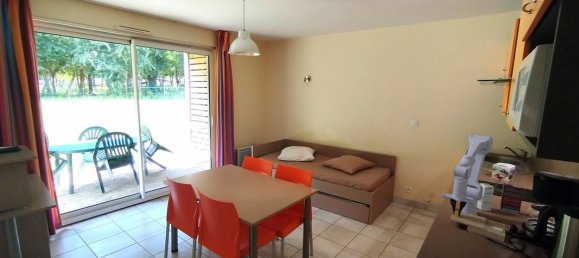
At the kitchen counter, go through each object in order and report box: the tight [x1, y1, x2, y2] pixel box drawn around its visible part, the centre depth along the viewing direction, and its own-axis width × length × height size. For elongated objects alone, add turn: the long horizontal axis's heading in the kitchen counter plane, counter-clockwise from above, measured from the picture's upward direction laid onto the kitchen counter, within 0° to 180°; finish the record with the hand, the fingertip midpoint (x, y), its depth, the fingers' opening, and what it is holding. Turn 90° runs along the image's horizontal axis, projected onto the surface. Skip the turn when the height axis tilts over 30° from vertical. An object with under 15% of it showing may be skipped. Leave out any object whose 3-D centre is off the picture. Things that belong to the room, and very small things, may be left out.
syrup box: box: [476, 182, 495, 212], centre depth 153 cm, size 6×6×14 cm
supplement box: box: [499, 182, 524, 216], centre depth 150 cm, size 9×5×16 cm, turn 54°
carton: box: [466, 219, 506, 243], centre depth 129 cm, size 14×14×3 cm
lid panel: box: [449, 207, 487, 230], centre depth 133 cm, size 14×14×4 cm
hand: (456, 214), depth 136 cm, fingers closed on lid panel, 2 cm apart
